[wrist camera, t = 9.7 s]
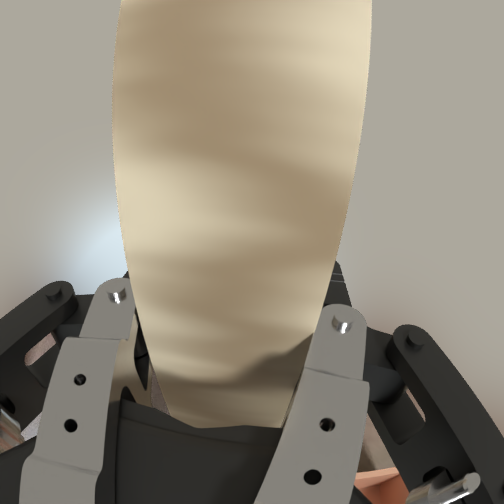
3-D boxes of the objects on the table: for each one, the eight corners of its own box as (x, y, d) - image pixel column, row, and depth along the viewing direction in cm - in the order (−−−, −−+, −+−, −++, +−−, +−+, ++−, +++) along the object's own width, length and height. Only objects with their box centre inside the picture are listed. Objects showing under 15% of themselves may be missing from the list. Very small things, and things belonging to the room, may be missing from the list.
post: (191, 463, 12) (127, -29, 2) (203, 411, 16) (191, 19, 6) (259, 473, 12) (371, -29, 2) (263, 419, 16) (330, 26, 6)
